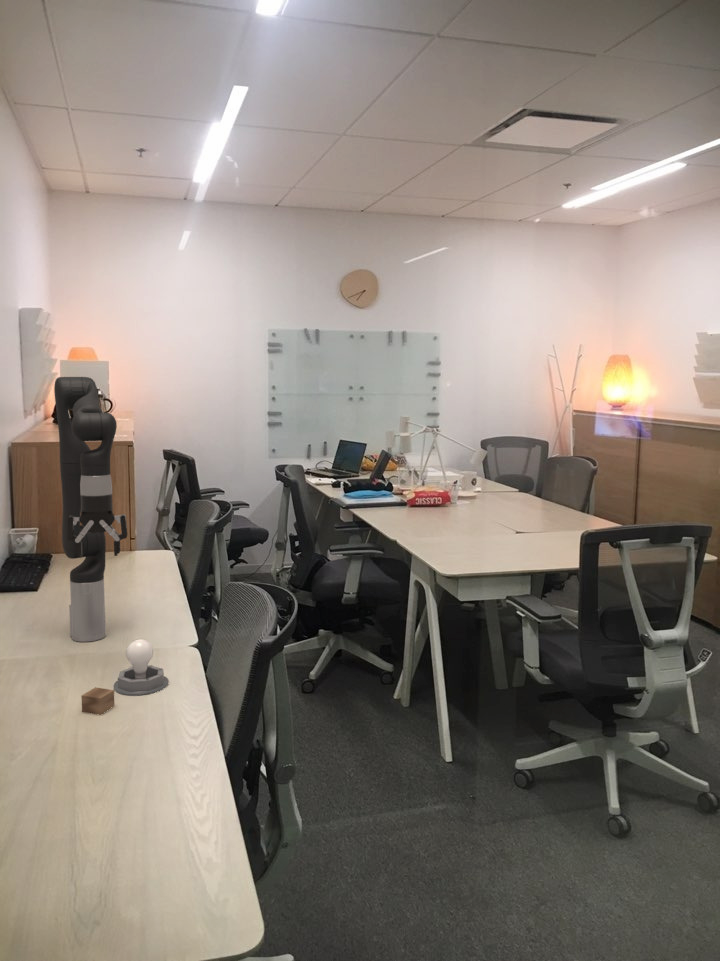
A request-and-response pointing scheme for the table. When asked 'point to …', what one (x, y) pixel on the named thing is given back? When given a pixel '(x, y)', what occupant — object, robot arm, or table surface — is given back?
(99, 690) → the walnut block
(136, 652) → the lightbulb
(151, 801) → the table surface
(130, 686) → the socket collar
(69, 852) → the table surface
